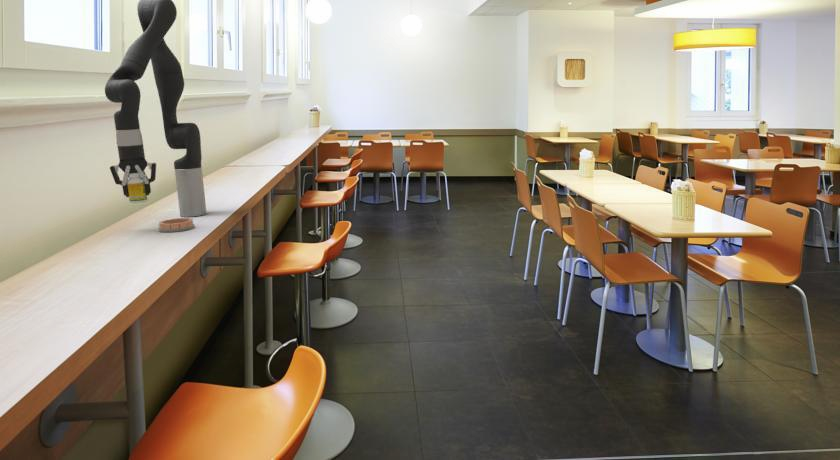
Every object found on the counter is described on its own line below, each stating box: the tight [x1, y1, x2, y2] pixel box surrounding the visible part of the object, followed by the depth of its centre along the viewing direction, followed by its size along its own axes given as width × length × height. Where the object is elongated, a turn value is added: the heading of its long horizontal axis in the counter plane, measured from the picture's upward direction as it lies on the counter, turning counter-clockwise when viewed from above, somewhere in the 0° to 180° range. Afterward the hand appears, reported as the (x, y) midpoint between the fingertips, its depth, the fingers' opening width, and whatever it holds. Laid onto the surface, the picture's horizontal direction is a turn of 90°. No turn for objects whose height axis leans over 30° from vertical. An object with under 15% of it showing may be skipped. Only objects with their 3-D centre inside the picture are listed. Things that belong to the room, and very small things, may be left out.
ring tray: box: [158, 217, 195, 234], centre depth 205 cm, size 11×11×3 cm
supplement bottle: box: [127, 173, 148, 204], centre depth 203 cm, size 5×5×10 cm
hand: (137, 195), depth 204 cm, fingers closed on supplement bottle, 5 cm apart
